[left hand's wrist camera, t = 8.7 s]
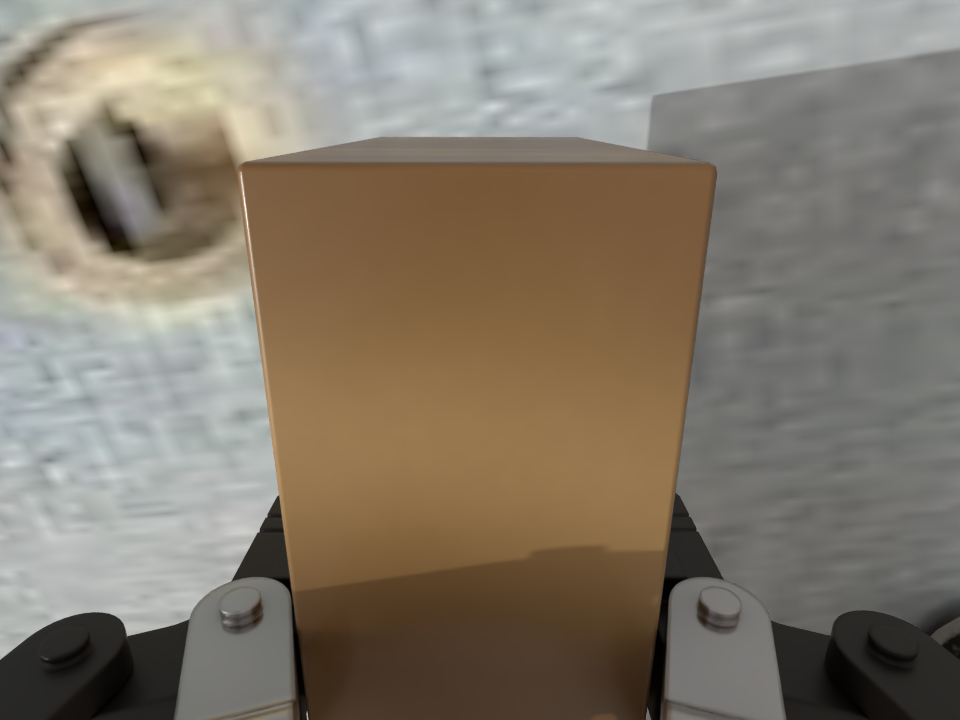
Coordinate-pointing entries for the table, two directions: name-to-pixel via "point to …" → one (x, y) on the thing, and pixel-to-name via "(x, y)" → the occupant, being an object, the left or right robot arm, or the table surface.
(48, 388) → the table surface
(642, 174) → the post
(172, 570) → the table surface
